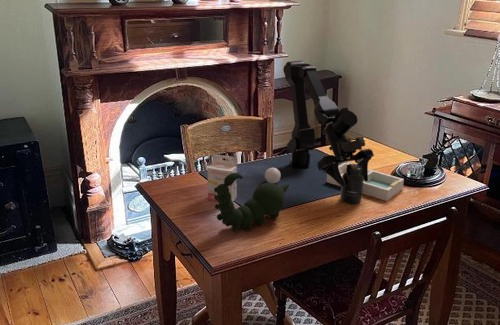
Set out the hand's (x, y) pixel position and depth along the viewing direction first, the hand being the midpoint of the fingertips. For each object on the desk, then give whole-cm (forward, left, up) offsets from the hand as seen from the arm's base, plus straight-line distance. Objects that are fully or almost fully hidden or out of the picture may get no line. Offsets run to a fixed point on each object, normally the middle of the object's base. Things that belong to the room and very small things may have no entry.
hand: (355, 183), depth 159 cm
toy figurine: (-32, -14, -7) cm, 36 cm away
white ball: (-27, +14, -7) cm, 31 cm away
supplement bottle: (-1, +1, -7) cm, 7 cm away
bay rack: (+6, +13, -7) cm, 16 cm away
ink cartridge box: (-43, +1, -7) cm, 43 cm away
